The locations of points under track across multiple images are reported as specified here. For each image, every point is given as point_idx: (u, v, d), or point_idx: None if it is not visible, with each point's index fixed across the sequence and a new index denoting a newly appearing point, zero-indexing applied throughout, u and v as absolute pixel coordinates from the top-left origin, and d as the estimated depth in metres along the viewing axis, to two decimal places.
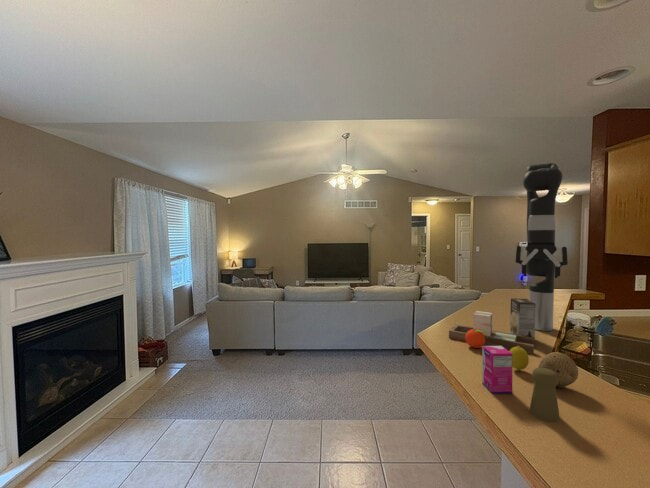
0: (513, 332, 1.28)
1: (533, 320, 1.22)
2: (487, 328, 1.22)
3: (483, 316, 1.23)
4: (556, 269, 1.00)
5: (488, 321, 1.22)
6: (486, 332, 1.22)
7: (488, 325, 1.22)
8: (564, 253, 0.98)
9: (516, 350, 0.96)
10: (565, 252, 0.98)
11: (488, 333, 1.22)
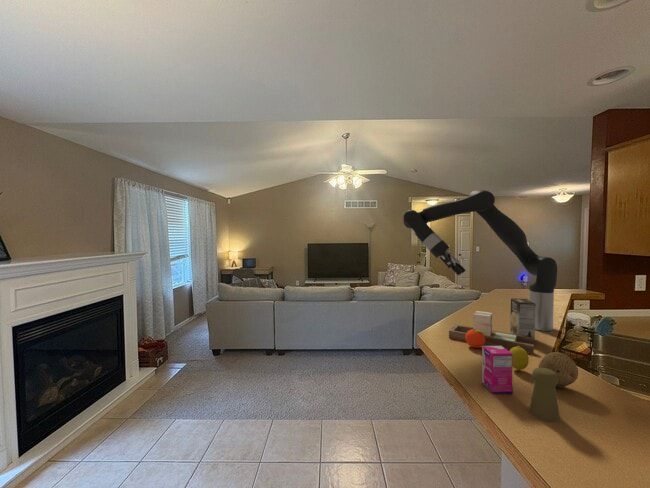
0: (513, 332, 1.28)
1: (533, 320, 1.22)
2: (487, 328, 1.22)
3: (483, 316, 1.23)
4: None
5: (488, 321, 1.22)
6: (486, 332, 1.22)
7: (488, 325, 1.22)
8: None
9: (516, 350, 0.96)
10: None
11: (488, 333, 1.22)
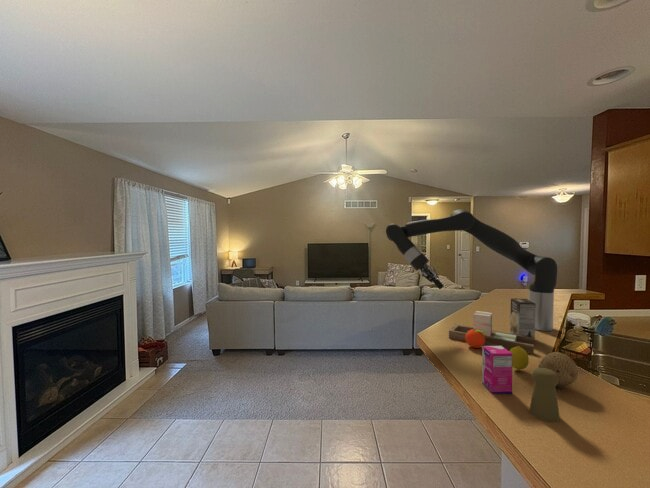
0: (513, 332, 1.28)
1: (533, 320, 1.22)
2: (487, 328, 1.22)
3: (483, 316, 1.23)
4: None
5: (488, 321, 1.22)
6: (486, 332, 1.22)
7: (488, 325, 1.22)
8: None
9: (516, 350, 0.96)
10: None
11: (488, 333, 1.22)
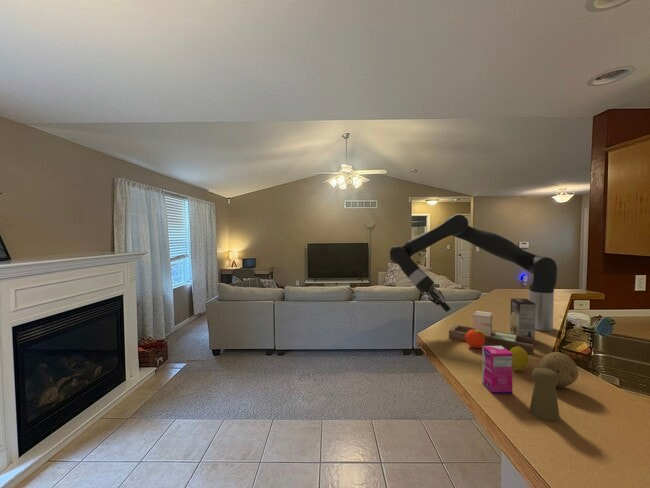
0: (513, 332, 1.28)
1: (533, 320, 1.22)
2: (487, 328, 1.22)
3: (483, 316, 1.23)
4: None
5: (488, 321, 1.22)
6: (486, 332, 1.22)
7: (488, 325, 1.22)
8: None
9: (516, 350, 0.96)
10: None
11: (488, 333, 1.22)
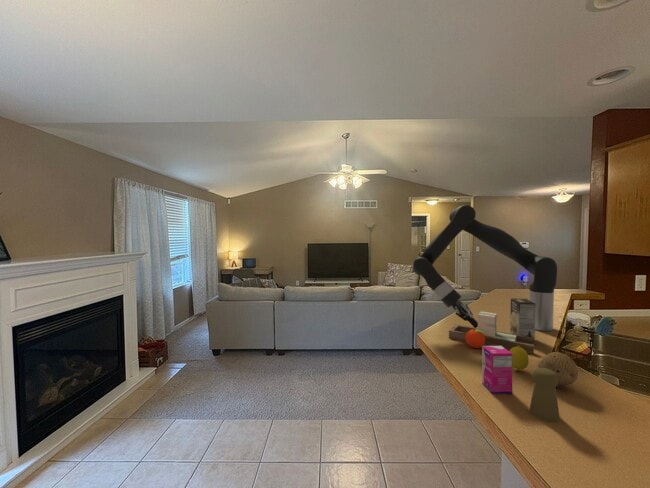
0: (513, 332, 1.28)
1: (533, 320, 1.22)
2: (491, 329, 1.21)
3: (487, 317, 1.22)
4: None
5: (492, 322, 1.21)
6: (490, 333, 1.21)
7: (492, 326, 1.21)
8: None
9: (516, 350, 0.96)
10: None
11: (492, 334, 1.21)
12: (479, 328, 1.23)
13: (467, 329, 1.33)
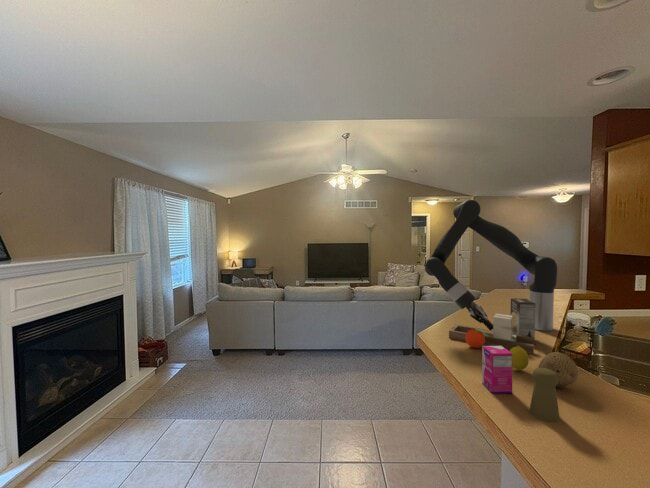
0: (513, 332, 1.28)
1: (533, 320, 1.22)
2: (508, 331, 1.17)
3: (503, 319, 1.18)
4: None
5: (508, 325, 1.17)
6: (507, 336, 1.18)
7: (509, 328, 1.17)
8: None
9: (516, 350, 0.96)
10: None
11: (509, 337, 1.17)
12: (495, 331, 1.20)
13: (467, 329, 1.33)
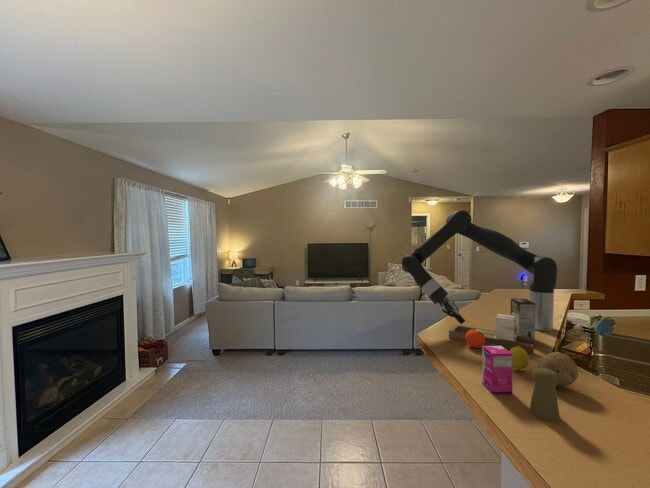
0: None
1: (533, 320, 1.22)
2: (510, 332, 1.17)
3: (506, 319, 1.18)
4: None
5: (511, 325, 1.17)
6: (509, 336, 1.17)
7: (511, 329, 1.17)
8: None
9: (516, 350, 0.96)
10: None
11: (511, 337, 1.17)
12: (497, 331, 1.20)
13: (467, 329, 1.33)
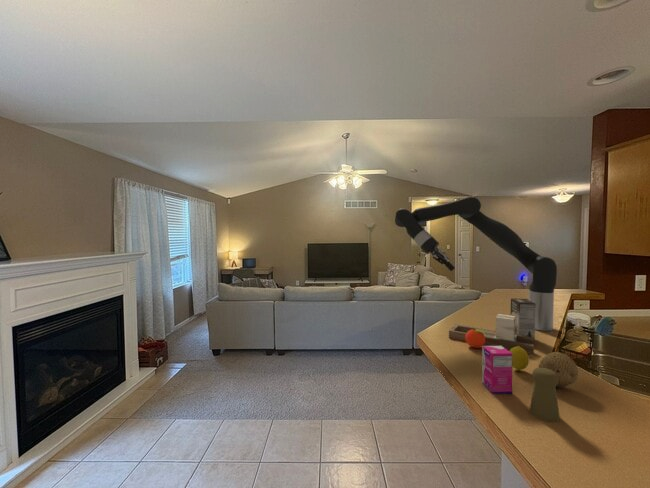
0: None
1: (533, 320, 1.22)
2: (510, 332, 1.17)
3: (506, 319, 1.18)
4: None
5: (511, 325, 1.17)
6: (509, 336, 1.17)
7: (511, 329, 1.17)
8: None
9: (516, 350, 0.96)
10: None
11: (511, 337, 1.17)
12: (497, 331, 1.20)
13: (467, 329, 1.33)
